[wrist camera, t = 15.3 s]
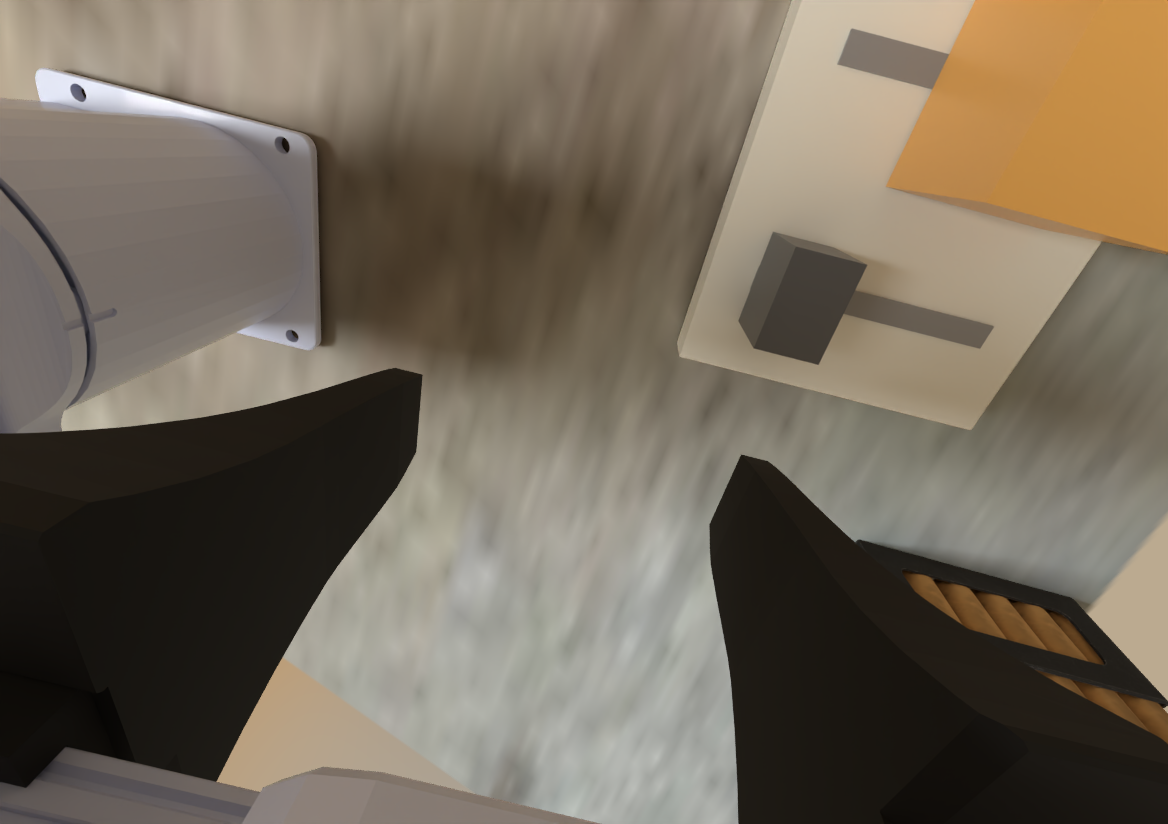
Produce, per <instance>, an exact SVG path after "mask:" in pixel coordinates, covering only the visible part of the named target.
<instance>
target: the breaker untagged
mask: <svg viewBox="0 0 1168 824" xmlns="http://www.w3.org/2000/svg"><path fill="white" fill-rule="evenodd" d="M866 267H867V264H865V263H863V262H861V261H859V260H857V259H855V258H853V257H851V256H849V255H848V254H846V253H844V252H842V251H840V250H838V249H836V248H834V247H830V246H826V245H823V244H819V243H815V242H811V241H807V240H803V239H799V238H795V237H792V236H788V235H784V234H780V233H776V232H773V233H772V235H771V238H770V241H769V243H768V246H767V248H766V251H765V253H764V256H763V259H762V261H761V264H760V266H759V269H758V271H757V274H756V277H755V279H754V282H753V284H752V287H751V289H750V292H749V295H748V297H747V300H746V302H745V305H744V307H743V310H742V312H741V315H740V318H739V320H738V321H739V323H740V325H741V327H742V329H743V330H744V332H745V334H746V336H747V338H748V339H749V341H750V343H751V345H752V346H753V348H754V349H758V350H762V351H766V352H770V353H773V354H777V355H781V356H785V357H789V358H793V359H797V360H801V361H805V362H809V363H813V364H817V365H819V363H820V361H821V359H822V357H823V355H824V353H825V351H826V349H827V347H828V345H829V343H830V341H831V339H832V337H833V334H834V332H835V330H836V328H837V326H838V324H839V322H840V320H841V318H842V316H843V314H844V312H845V310H846V308H847V306H848V304H849V302H850V300H851V298H852V296H853V294H854V292H855V290H856V288H857V286H858V283H859V281H860V279H861V277H862V275H863V273H864V271H865V269H866Z"/></svg>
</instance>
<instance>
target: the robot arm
mask: <svg viewBox="0 0 1168 824" xmlns="http://www.w3.org/2000/svg"><path fill="white" fill-rule="evenodd" d="M35 79H36V85H37V89H38V93H39V97H40V101H33V100H20V99H7V98H0V824H600V823H595V822H591V821H587V820H583V819H578V818H574V817H570V816H566V815H561V814H557V813H553V812H549V811H544V810H540V809H536V808H532V807H527V806H523V805H519V804H515V803H511V802H506V801H502V800H498V799H494V798H489V797H485V796H481V795H477V794H472V793H468V792H464V791H459V790H455V789H451V788H447V787H443V786H438V785H434V784H430V783H426V782H421V781H417V780H412V779H409V778H404V777H400V776H396V775H391V774H388V773H383V772H374V771H362V770H352V769H341V768H330V767H321V768H318V769H315V770H311V771H309V772H305V773H302V774H299V775H295V776H292V777H289V778H285V779H282V780H280V781H278V782H276V783H273V784H271V785H268V786H266V787H264V788H263V789H262V791H261V792H257V791H253V790H249V789H245V788H240V787H236V786H232V785H227V784H223V783H219V782H216V781H217V779H218V777H219V775H220V773H221V772H222V770H223V767H224V766H225V763H226V762H227V760H228V758H229V756H230V754H231V752H232V750H233V748H234V746H235V744H236V742H237V740H238V738H239V736H240V734H241V732H242V730H243V728H244V726H245V725H246V723H247V721H248V719H249V717H250V716H251V714H252V712H253V710H254V708H255V706H256V704H257V703H258V701H259V699H260V697H261V695H262V693H263V691H264V690H265V688H266V686H267V684H268V682H269V680H270V678H271V677H272V675H273V673H274V671H275V669H276V667H277V666H278V664H279V662H280V661H281V659H282V657H283V655H284V654H285V652H286V650H287V648H288V647H289V645H290V643H291V641H292V640H293V638H294V636H295V634H296V633H297V631H298V629H299V627H300V626H301V624H302V622H303V621H304V619H305V617H306V616H307V614H308V612H309V611H310V609H311V607H312V606H313V604H314V602H315V601H316V599H317V597H318V596H319V594H320V592H321V591H322V589H323V587H324V586H325V584H326V582H327V581H328V579H329V578H330V577H331V575H332V574H333V572H334V571H335V569H336V568H337V566H338V565H339V563H340V562H341V561H342V560H343V558H344V557H345V556H346V554H347V553H348V552H349V550H350V549H351V548H352V546H353V545H354V544H355V542H356V541H357V540H358V538H359V537H360V536H361V534H362V533H363V532H364V531H365V529H366V528H367V527H368V525H369V524H370V523H371V521H372V520H373V519H374V517H375V516H376V515H377V513H378V512H379V511H380V509H381V508H382V507H383V505H384V504H385V503H386V501H387V500H388V499H389V497H390V496H391V495H392V493H393V492H394V491H395V489H396V488H397V486H398V484H399V483H400V481H401V479H402V477H403V476H404V474H405V472H406V470H407V468H408V466H409V465H410V463H411V461H412V459H413V457H414V455H415V453H416V448H417V435H418V423H419V411H420V399H421V386H422V375H421V374H417V373H413V372H409V371H405V370H401V369H397V368H393V369H388V370H384V371H380V372H376V373H373V374H370V375H366V376H363V377H360V378H357V379H354V380H351V381H347V382H344V383H341V384H338V385H335V386H331V387H328V388H325V389H322V390H319V391H315V392H312V393H308V394H304V395H301V396H297V397H293V398H289V399H286V400H282V401H278V402H275V403H271V404H267V405H263V406H259V407H254V408H250V409H245V410H240V411H235V412H230V413H224V414H219V415H213V416H208V417H202V418H195V419H188V420H180V421H172V422H164V423H156V424H148V425H140V426H131V427H120V428H108V429H95V430H79V431H62V429H61V418H62V415H63V412H64V411H65V410H67V409H69V408H71V407H73V406H76V405H78V404H80V403H82V402H84V401H87V400H89V399H91V398H93V397H95V396H98V395H100V394H102V393H104V392H106V391H109V390H111V389H113V388H115V387H117V386H119V385H122V384H124V383H126V382H128V381H130V380H133V379H135V378H137V377H139V376H141V375H144V374H146V373H148V372H150V371H152V370H155V369H157V368H159V367H161V366H163V365H166V364H168V363H170V362H172V361H174V360H176V359H179V358H181V357H183V356H185V355H187V354H190V353H192V352H194V351H196V350H198V349H201V348H203V347H205V346H207V345H209V344H212V343H214V342H216V341H218V340H220V339H223V338H225V337H227V336H229V335H231V334H233V333H240V334H244V335H248V336H252V337H256V338H260V339H264V340H268V341H272V342H276V343H280V344H284V345H288V346H292V347H296V348H300V349H304V350H312V349H314V348H316V347H318V346H319V344H320V343H321V310H320V267H319V223H318V180H317V151H316V146H315V144H314V142H313V140H312V139H311V138H310V137H309V136H308V135H306V134H304V133H301V132H297V131H293V130H289V129H285V128H281V127H278V126H274V125H270V124H266V123H262V122H258V121H254V120H250V119H247V118H243V117H239V116H235V115H231V114H227V113H223V112H219V111H216V110H212V109H208V108H204V107H200V106H196V105H192V104H188V103H185V102H181V101H177V100H173V99H169V98H165V97H161V96H157V95H154V94H150V93H146V92H142V91H138V90H134V89H130V88H126V87H122V86H119V85H115V84H111V83H107V82H103V81H99V80H95V79H91V78H88V77H84V76H80V75H76V74H72V73H68V72H64V71H60V70H57V69H50V68H40V69H39V70H37V72H36V75H35ZM82 88H83V89H84V91H85V93H86V98H85V97H84V96H83V93H82ZM283 138H285V139H286V140H287V141H288V142H289V145H290V150H289V152H288V153H287V152H286V151H285V150H284V149H283V146H282V139H283ZM292 330H293V331H295V332H296V333H297V334H298V337H299V338H298V339H297V338H295V337H294V336H293V334H292ZM710 557H711V568H712V574H713V580H714V586H715V591H716V597H717V602H718V608H719V613H720V618H721V624H722V629H723V634H724V640H725V645H726V650H727V656H728V662H729V670H730V677H731V687H732V700H733V713H734V726H735V744H736V764H737V784H738V822H739V824H1168V744H1167V743H1166V742H1165V741H1164V740H1163V739H1161V738H1160V737H1158V736H1156V735H1154V734H1152V733H1151V732H1149V731H1147V730H1145V729H1143V728H1141V727H1139V726H1137V725H1135V724H1133V723H1132V722H1130V721H1128V720H1126V719H1124V718H1122V717H1120V716H1118V715H1116V714H1114V713H1113V712H1111V711H1109V710H1107V709H1105V708H1103V707H1101V706H1099V705H1097V704H1095V703H1094V702H1092V701H1090V700H1088V699H1086V698H1084V697H1082V696H1080V695H1078V694H1076V693H1075V692H1073V691H1071V690H1069V689H1067V688H1065V687H1064V686H1062V685H1060V684H1058V683H1056V682H1055V681H1053V680H1051V679H1050V678H1048V677H1046V676H1044V675H1043V674H1041V673H1039V672H1038V671H1036V670H1034V669H1033V668H1031V667H1029V666H1027V665H1026V664H1024V663H1022V662H1021V661H1019V660H1017V659H1015V658H1014V657H1012V656H1010V655H1009V654H1007V653H1006V652H1004V651H1002V650H1001V649H999V648H998V647H996V646H994V645H993V644H991V643H990V642H988V641H986V640H985V639H983V638H982V637H980V636H978V635H977V634H975V633H974V632H972V631H971V630H969V629H968V628H967V627H965V626H964V625H962V624H961V623H959V622H958V621H956V620H955V619H953V618H952V617H950V616H949V615H947V614H946V613H944V612H943V611H941V610H940V609H938V608H937V607H936V606H934V605H933V604H931V603H930V602H929V601H927V600H926V599H924V598H923V597H922V596H920V595H919V594H918V593H916V592H915V591H914V590H912V589H911V588H910V587H909V586H907V585H906V584H905V583H903V582H902V581H901V580H899V579H898V578H897V577H896V576H894V575H893V574H892V573H890V572H889V571H888V570H887V569H885V568H884V567H883V566H882V565H880V564H879V563H878V562H877V561H876V560H874V559H873V558H872V557H871V556H870V555H869V554H867V553H866V552H865V551H864V550H863V549H862V548H861V547H860V546H858V545H857V544H856V543H855V542H854V541H853V540H852V539H850V538H849V537H848V536H847V535H846V534H845V533H844V532H843V531H842V530H841V529H840V528H838V527H837V526H836V525H835V524H834V523H833V522H832V521H831V520H830V519H829V518H828V517H827V516H826V515H825V514H824V513H823V512H822V511H821V510H820V509H819V508H818V507H817V506H815V505H814V504H813V503H812V502H811V501H810V500H809V499H808V498H807V497H806V496H805V495H804V494H803V493H802V492H801V491H800V490H799V489H798V488H797V487H796V486H795V485H794V484H793V483H792V482H791V481H790V480H789V479H788V478H787V477H786V476H785V475H784V474H783V473H782V472H780V471H779V470H778V469H777V468H776V467H775V466H773V465H772V464H771V463H770V462H768V461H765V460H761V459H757V458H753V457H749V456H745V455H741V456H740V459H739V461H738V463H737V465H736V467H735V470H734V472H733V474H732V476H731V478H730V481H729V483H728V485H727V487H726V489H725V492H724V494H723V496H722V498H721V501H720V503H719V505H718V507H717V509H716V512H715V514H714V516H713V518H712V520H711V523H710Z"/></svg>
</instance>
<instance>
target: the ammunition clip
mask: <svg viewBox="0 0 1168 824" xmlns="http://www.w3.org/2000/svg"><path fill="white" fill-rule="evenodd" d="M855 543H856V544H857V545H858V546H860V547H861V548H862V549H863V550H864V551H865V552H866V553H867V554H869V555H870V556H871V557H872V558H873V559H874V560H876V561H877V562H878V563H879V564H880V565H882V566H883V567H884V568H885V569H887V570H888V571H889V572H890V573H892V574H893V575H894V576H896V577H897V578H898V579H899V580H901V581H902V582H903V583H905V584H906V585H907V586H909V587H910V588H911V589H912V590H914V591H915V592H916V593H918V594H919V595H920V596H922V597H923V598H924V599H926V600H927V601H929V602H930V603H931V604H933V605H934V606H936V607H937V608H938V609H940V610H941V611H943V612H944V613H946V614H947V615H949V616H950V617H952V618H953V619H955V620H956V621H958V622H959V623H961V624H962V625H964V626H965V627H967V628H968V629H969V630H971V631H972V632H974V633H975V634H977V635H978V636H980V637H982V638H983V639H985V640H986V641H988V642H990V643H991V644H993V645H994V646H996V647H998V648H999V649H1001V650H1002V651H1004V652H1006V653H1007V654H1009V655H1010V656H1012V657H1014V658H1015V659H1017V660H1019V661H1021V662H1022V663H1024V664H1026V665H1027V666H1029V667H1031V668H1033V669H1034V670H1036V671H1038V672H1039V673H1041V674H1043V675H1044V676H1046V677H1048V678H1050V679H1051V680H1053V681H1055V682H1056V683H1058V684H1060V685H1062V686H1064V687H1065V688H1067V689H1069V690H1071V691H1073V692H1075V693H1076V694H1078V695H1080V696H1082V697H1084V698H1086V699H1088V700H1090V701H1092V702H1094V703H1095V704H1097V705H1099V706H1101V707H1103V708H1105V709H1107V710H1109V711H1111V712H1113V713H1114V714H1116V715H1118V716H1120V717H1122V718H1124V719H1126V720H1128V721H1130V722H1132V723H1133V724H1135V725H1137V726H1139V727H1141V728H1143V729H1145V730H1147V731H1149V732H1151V733H1152V734H1154V735H1156V736H1158V737H1160V738H1161V739H1163V740H1164V741H1165V742H1166V743H1167V744H1168V713H1167V712H1166V711H1165V710H1164V709H1163V708H1165V707H1166V706H1168V701H1167V700H1166V699H1165V698H1164V697H1163V696H1162V694H1161V693H1160V692H1159V691H1158V690H1157V689H1156V688H1155V687H1154V686H1153V685H1152V684H1151V683H1150V681H1149V680H1148V679H1147V678H1146V677H1145V676H1144V675H1143V674H1142V673H1141V672H1140V671H1139V670H1138V669H1137V668H1136V666H1135V665H1134V664H1133V663H1132V662H1131V661H1130V660H1129V659H1128V658H1127V657H1126V656H1125V655H1124V653H1123V652H1122V651H1121V650H1120V649H1119V648H1118V647H1117V646H1116V645H1115V644H1114V643H1113V642H1112V640H1111V639H1110V638H1109V637H1108V636H1107V635H1106V634H1105V633H1104V632H1103V631H1102V630H1101V629H1100V628H1099V627H1098V626H1097V624H1096V623H1095V622H1094V621H1093V620H1092V619H1091V618H1090V617H1089V616H1088V615H1087V614H1086V612H1085V611H1084V610H1083V609H1082V608H1081V607H1080V606H1079V605H1078V604H1077V603H1076V602H1075V601H1074V600H1073V599H1072V598H1070V597H1066V596H1062V595H1059V594H1055V593H1051V592H1048V591H1044V590H1040V589H1037V588H1033V587H1029V586H1026V585H1022V584H1018V583H1015V582H1011V581H1008V580H1004V579H1000V578H997V577H993V576H989V575H986V574H982V573H978V572H975V571H971V570H967V569H964V568H960V567H956V566H953V565H949V564H945V563H942V562H938V561H935V560H931V559H927V558H924V557H920V556H916V555H913V554H909V553H905V552H902V551H898V550H894V549H891V548H887V547H883V546H880V545H876V544H872V543H869V542H865V541H862V540H858V541H856V542H855Z"/></svg>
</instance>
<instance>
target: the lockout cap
mask: <svg viewBox="0 0 1168 824" xmlns="http://www.w3.org/2000/svg"><path fill="white" fill-rule="evenodd" d="M886 187H889V188H893V189H896V190H900V191H904V192H907V193H911V194H915V195H918V196H922V197H926V198H929V199H933V200H937V201H941V202H944V203H948V204H952V205H955V206H959V207H963V208H966V209H970V210H974V211H977V212H981V213H985V214H989V215H992V216H996V217H1000V218H1003V219H1007V220H1011V221H1014V222H1018V223H1022V224H1025V225H1029V226H1033V227H1036V228H1040V229H1044V230H1048V231H1053V232H1058V233H1063V234H1068V235H1073V236H1078V237H1083V238H1088V239H1093V240H1098V241H1103V242H1107V243H1112V244H1117V245H1122V246H1127V247H1132V248H1137V249H1142V250H1147V251H1152V252H1157V253H1161V254H1166V255H1168V0H975V2H974V4H973V6H972V8H971V10H970V12H969V14H968V16H967V18H966V20H965V22H964V24H963V26H962V29H961V31H960V33H959V35H958V37H957V39H956V41H955V43H954V45H953V47H952V49H951V51H950V54H949V56H948V58H947V60H946V62H945V64H944V66H943V68H942V70H941V72H940V74H939V76H938V79H937V81H936V83H935V85H934V87H933V89H932V91H931V93H930V95H929V97H928V99H927V101H926V104H925V106H924V108H923V110H922V112H921V114H920V116H919V118H918V120H917V122H916V124H915V126H914V129H913V131H912V133H911V135H910V137H909V139H908V141H907V143H906V145H905V147H904V149H903V151H902V154H901V156H900V158H899V160H898V162H897V164H896V166H895V168H894V170H893V172H892V174H891V176H890V179H889V181H888V183H887V185H886Z"/></svg>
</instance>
